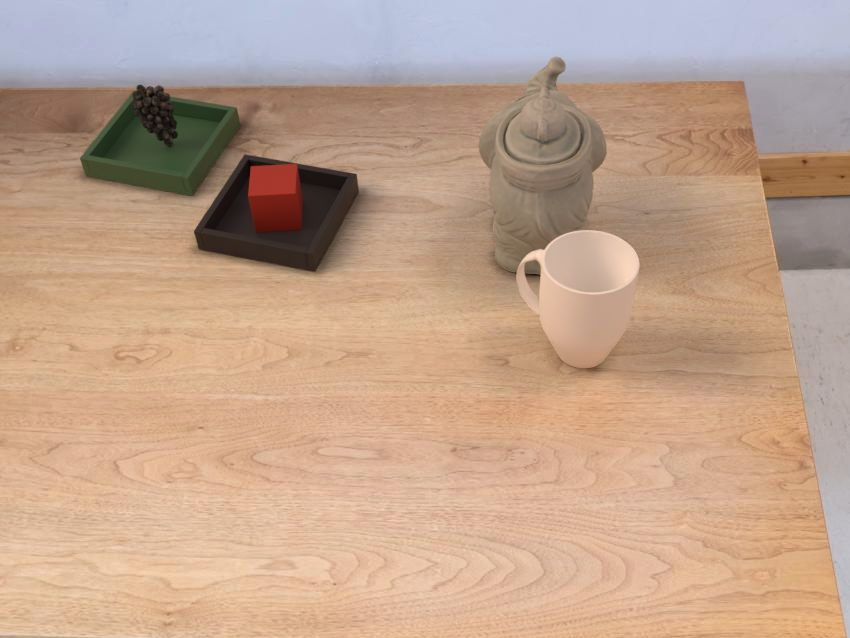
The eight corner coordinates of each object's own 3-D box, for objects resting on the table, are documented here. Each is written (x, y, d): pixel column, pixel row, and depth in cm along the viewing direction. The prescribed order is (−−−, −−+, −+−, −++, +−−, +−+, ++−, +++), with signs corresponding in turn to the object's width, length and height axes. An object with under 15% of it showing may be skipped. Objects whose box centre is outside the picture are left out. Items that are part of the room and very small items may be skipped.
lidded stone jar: (536, 168, 128) (543, 16, 113) (642, 226, 122) (664, 73, 107) (437, 240, 121) (430, 88, 106) (544, 306, 114) (552, 154, 100)
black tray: (198, 249, 121) (193, 231, 119) (248, 172, 129) (244, 153, 127) (315, 272, 118) (312, 253, 116) (359, 192, 126) (356, 173, 124)
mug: (642, 340, 111) (656, 248, 102) (600, 397, 107) (611, 307, 97) (539, 297, 115) (544, 205, 106) (495, 351, 111) (496, 260, 101)
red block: (255, 232, 122) (248, 195, 118) (258, 202, 125) (250, 166, 121) (301, 229, 122) (295, 193, 118) (302, 200, 125) (296, 163, 121)
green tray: (85, 176, 129) (79, 158, 127) (139, 108, 137) (133, 89, 135) (192, 196, 127) (188, 177, 125) (241, 125, 135) (237, 107, 132)
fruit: (145, 160, 130) (127, 101, 124) (143, 138, 133) (126, 78, 126) (185, 154, 130) (169, 94, 124) (182, 132, 133) (167, 72, 127)
